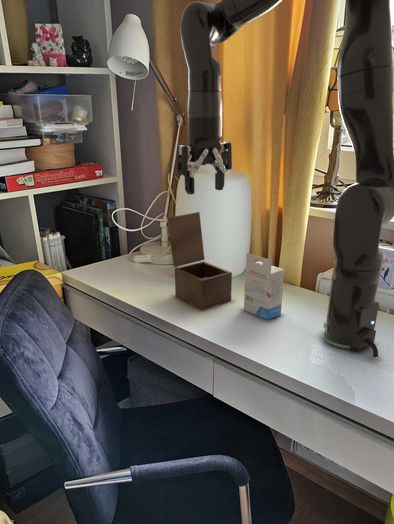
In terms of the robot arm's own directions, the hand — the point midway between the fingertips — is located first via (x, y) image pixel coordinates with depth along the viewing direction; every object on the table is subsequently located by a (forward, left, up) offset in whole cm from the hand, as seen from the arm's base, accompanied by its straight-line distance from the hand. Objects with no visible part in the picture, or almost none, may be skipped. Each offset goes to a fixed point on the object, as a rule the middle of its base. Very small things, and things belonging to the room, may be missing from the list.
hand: (205, 191), depth 112 cm
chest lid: (+7, 0, -13) cm, 15 cm away
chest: (+1, 0, -27) cm, 27 cm away
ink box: (-15, -6, -28) cm, 32 cm away
